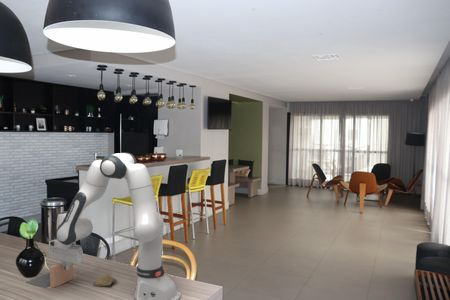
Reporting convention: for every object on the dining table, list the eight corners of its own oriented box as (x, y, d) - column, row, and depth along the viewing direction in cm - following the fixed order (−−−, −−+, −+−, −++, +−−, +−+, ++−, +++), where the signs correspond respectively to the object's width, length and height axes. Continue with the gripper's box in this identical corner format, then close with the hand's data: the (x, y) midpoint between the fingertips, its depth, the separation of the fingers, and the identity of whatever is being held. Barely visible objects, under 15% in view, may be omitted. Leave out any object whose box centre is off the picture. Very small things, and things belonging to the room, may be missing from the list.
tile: (73, 278, 189) (72, 259, 189) (54, 287, 178) (53, 267, 178) (69, 277, 191) (68, 259, 190) (50, 286, 180) (49, 266, 179)
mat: (70, 276, 193) (70, 275, 193) (45, 287, 178) (45, 287, 178) (51, 271, 198) (51, 271, 198) (25, 282, 184) (25, 282, 184)
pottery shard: (92, 288, 181) (107, 287, 177) (91, 279, 182) (106, 278, 178) (107, 281, 191) (122, 280, 187) (106, 273, 191) (121, 272, 188)
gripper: (86, 243, 181) (86, 270, 182) (56, 238, 189) (56, 264, 190) (77, 247, 175) (76, 275, 176) (46, 241, 183) (46, 268, 184)
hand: (66, 269), depth 183 cm, fingers closed
